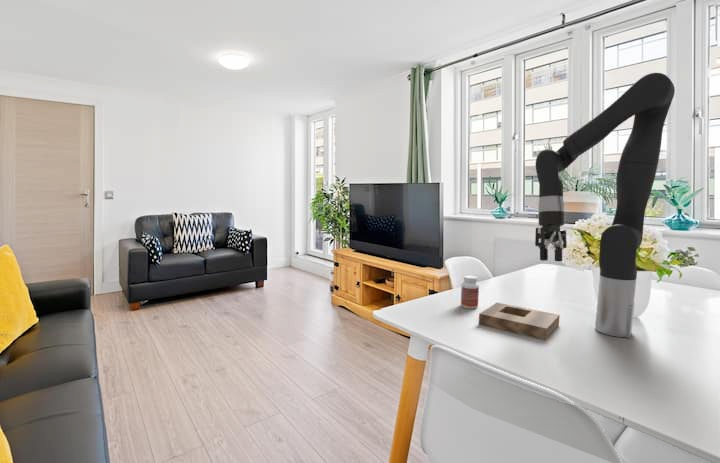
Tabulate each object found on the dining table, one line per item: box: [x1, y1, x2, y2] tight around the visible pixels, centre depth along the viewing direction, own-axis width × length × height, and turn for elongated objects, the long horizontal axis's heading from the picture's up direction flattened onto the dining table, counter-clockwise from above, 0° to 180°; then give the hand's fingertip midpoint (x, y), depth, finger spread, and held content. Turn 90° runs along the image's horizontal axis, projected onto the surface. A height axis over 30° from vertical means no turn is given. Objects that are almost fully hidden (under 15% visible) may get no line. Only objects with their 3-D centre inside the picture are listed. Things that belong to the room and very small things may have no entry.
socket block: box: [478, 302, 560, 341], centre depth 124 cm, size 20×16×4 cm
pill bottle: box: [460, 275, 480, 310], centre depth 142 cm, size 6×6×11 cm
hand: (551, 260), depth 126 cm, fingers open, 8 cm apart
